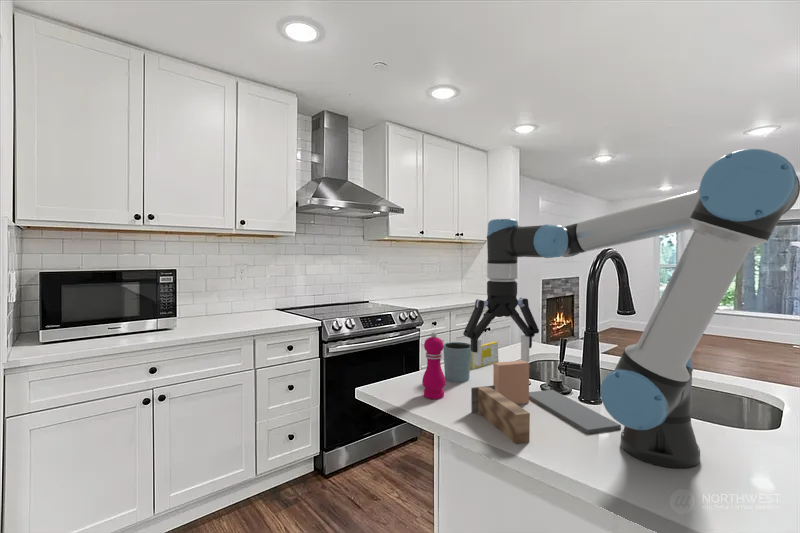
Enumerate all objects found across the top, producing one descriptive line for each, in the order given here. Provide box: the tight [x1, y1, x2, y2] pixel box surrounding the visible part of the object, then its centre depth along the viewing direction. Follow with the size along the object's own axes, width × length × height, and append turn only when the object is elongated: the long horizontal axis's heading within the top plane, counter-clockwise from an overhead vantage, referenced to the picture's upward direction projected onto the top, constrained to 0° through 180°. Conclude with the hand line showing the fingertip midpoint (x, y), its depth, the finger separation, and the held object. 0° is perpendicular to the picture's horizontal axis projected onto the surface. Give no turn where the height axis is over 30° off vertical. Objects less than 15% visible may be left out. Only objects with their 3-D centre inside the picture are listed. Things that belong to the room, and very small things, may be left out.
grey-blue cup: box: [442, 341, 472, 383], centre depth 147 cm, size 10×10×12 cm
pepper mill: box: [421, 331, 447, 400], centre depth 130 cm, size 7×7×20 cm
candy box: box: [470, 341, 500, 370], centre depth 165 cm, size 16×2×8 cm, turn 130°
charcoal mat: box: [529, 389, 622, 434], centre depth 118 cm, size 28×10×1 cm, turn 16°
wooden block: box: [470, 385, 531, 445], centre depth 108 cm, size 21×7×7 cm, turn 16°
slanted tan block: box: [492, 360, 530, 405], centre depth 124 cm, size 4×10×12 cm, turn 105°
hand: (501, 362), depth 107 cm, fingers open, 13 cm apart
